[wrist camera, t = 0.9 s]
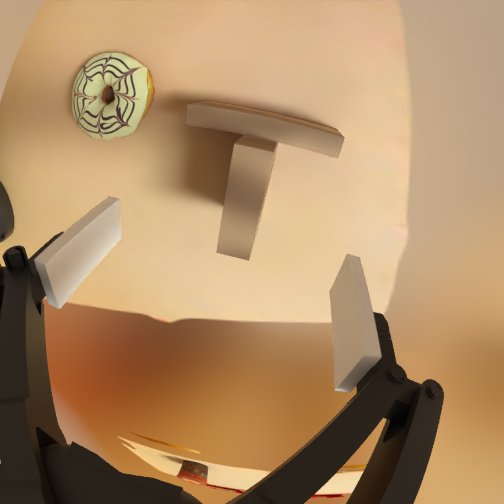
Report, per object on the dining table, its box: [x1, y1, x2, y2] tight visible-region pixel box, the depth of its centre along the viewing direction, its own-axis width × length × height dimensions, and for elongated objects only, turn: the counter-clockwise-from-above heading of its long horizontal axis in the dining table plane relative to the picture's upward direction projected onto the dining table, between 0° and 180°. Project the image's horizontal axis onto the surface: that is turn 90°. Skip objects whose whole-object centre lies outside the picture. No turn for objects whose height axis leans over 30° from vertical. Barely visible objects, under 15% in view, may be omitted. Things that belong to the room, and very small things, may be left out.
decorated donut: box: [72, 52, 155, 140], centre depth 25 cm, size 10×11×4 cm
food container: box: [177, 461, 208, 485], centre depth 108 cm, size 16×16×11 cm
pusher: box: [185, 100, 344, 260], centre depth 26 cm, size 12×14×9 cm
